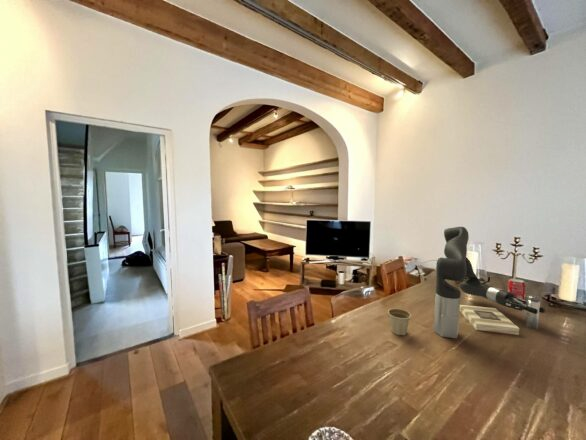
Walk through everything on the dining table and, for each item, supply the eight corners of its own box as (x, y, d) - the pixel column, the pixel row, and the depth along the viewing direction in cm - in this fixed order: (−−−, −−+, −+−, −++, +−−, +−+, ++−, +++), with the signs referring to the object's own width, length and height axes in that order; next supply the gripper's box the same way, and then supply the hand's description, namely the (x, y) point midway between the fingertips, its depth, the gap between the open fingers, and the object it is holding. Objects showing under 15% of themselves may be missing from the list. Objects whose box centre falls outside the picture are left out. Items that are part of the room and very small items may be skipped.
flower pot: (386, 334, 108) (386, 315, 107) (388, 324, 117) (389, 306, 116) (409, 340, 104) (410, 320, 103) (410, 329, 112) (411, 311, 111)
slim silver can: (541, 329, 112) (544, 299, 110) (528, 328, 113) (531, 298, 112) (534, 324, 116) (537, 295, 115) (522, 323, 117) (525, 294, 116)
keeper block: (518, 334, 108) (519, 327, 107) (476, 329, 112) (476, 322, 112) (494, 313, 127) (495, 307, 126) (459, 310, 131) (459, 304, 131)
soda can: (527, 305, 137) (529, 282, 135) (514, 305, 137) (516, 282, 136) (516, 300, 144) (517, 278, 142) (503, 299, 144) (505, 278, 143)
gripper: (490, 290, 125) (530, 305, 109) (511, 288, 129) (552, 301, 112) (489, 305, 126) (528, 321, 110) (510, 302, 130) (551, 317, 113)
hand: (540, 311), depth 111 cm, fingers closed on slim silver can, 4 cm apart
